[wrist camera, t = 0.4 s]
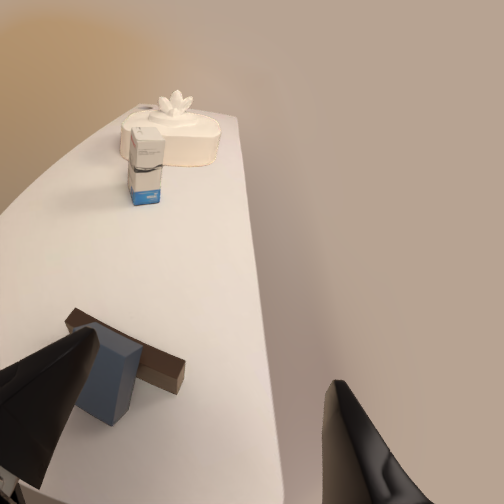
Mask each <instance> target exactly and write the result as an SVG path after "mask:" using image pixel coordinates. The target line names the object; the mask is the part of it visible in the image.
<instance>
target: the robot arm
mask: <svg viewBox="0 0 504 504" xmlns="http://www.w3.org/2000/svg"><path fill="white" fill-rule="evenodd" d="M99 348H100V342H99V338H98V335H97V332H96V330H95V329H94V328H91V327H89V326H85V327H83V328H81V329H79V330H77V331H75V332H73V333H71V334H69V335H67V336H66V337H64V338H62V339H60V340H58V341H56V342H54V343H52V344H50V345H48V346H47V347H45V348H43V349H41V350H39V351H37V352H35V353H33V354H31V355H29V356H28V357H26V358H24V359H22V360H20V361H19V362H16V363H14V364H12V365H10V366H8V367H6V368H4V369H2V370H0V504H26V503H25V500H24V498H23V494H22V492H21V489H20V485H19V483H18V480H19V479H21V480H23V481H24V482H26V483H28V484H29V485H31V486H33V487H35V488H36V489H38V490H39V489H40V487H41V485H42V482H43V479H44V476H45V473H46V471H47V468H48V465H49V463H50V460H51V458H52V455H53V452H54V450H55V448H56V445H57V443H58V440H59V438H60V436H61V433H62V431H63V429H64V427H65V424H66V422H67V420H68V418H69V416H70V414H71V411H72V409H73V407H74V405H75V403H76V401H77V399H78V397H79V395H80V393H81V391H82V389H83V387H84V385H85V383H86V381H87V379H88V376H89V374H90V371H91V369H92V366H93V363H94V361H95V358H96V356H97V353H98V351H99ZM322 459H323V461H322V463H323V499H322V504H434V503H433V502H431V501H430V500H429V499H428V498H427V497H426V496H425V495H424V494H423V493H422V492H421V490H420V489H419V488H418V487H417V486H416V485H415V483H414V482H413V481H412V480H411V479H410V478H409V476H408V475H407V474H406V473H405V471H404V470H403V469H402V467H401V466H400V464H399V463H398V461H397V460H396V459H395V457H394V455H393V454H392V453H391V452H390V449H389V448H388V447H387V445H386V443H385V442H384V440H383V439H382V437H381V435H380V434H379V432H378V431H377V429H376V428H375V426H374V425H373V423H372V422H371V420H370V419H369V417H368V415H367V414H366V412H365V411H364V409H363V408H362V406H361V405H360V403H359V402H358V400H357V399H356V397H355V396H354V394H353V393H352V391H351V389H350V388H349V386H348V385H347V383H346V382H345V381H343V380H333V381H332V383H331V384H330V386H329V388H328V390H327V391H326V394H325V401H324V415H323V426H322Z"/></svg>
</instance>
